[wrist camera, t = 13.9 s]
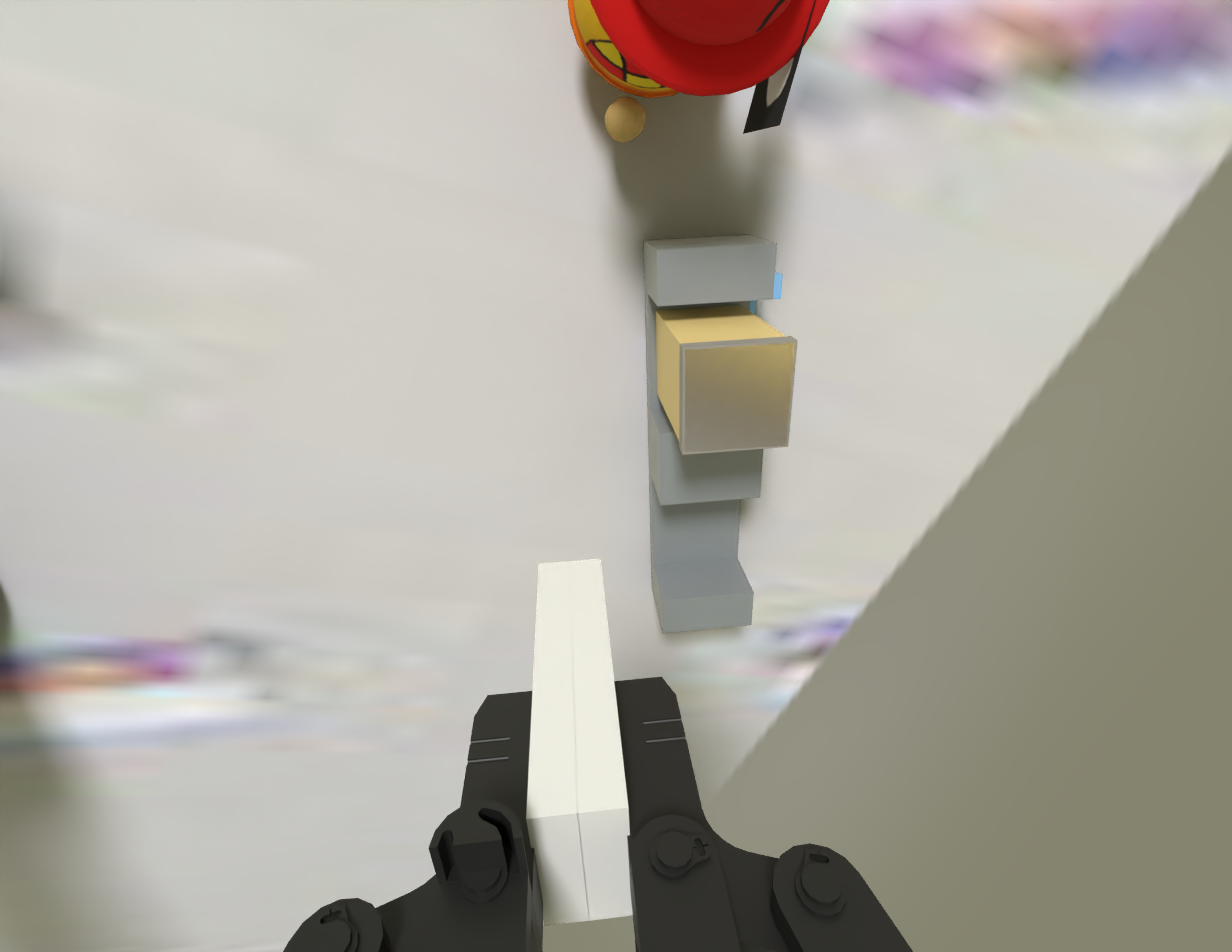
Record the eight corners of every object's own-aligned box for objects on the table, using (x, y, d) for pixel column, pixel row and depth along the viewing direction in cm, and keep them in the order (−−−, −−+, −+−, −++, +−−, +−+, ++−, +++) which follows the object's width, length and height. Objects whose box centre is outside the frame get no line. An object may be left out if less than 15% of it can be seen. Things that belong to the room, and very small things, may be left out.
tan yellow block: (655, 395, 37) (682, 454, 29) (654, 309, 35) (682, 347, 27) (739, 389, 38) (788, 446, 30) (743, 303, 35) (797, 340, 27)
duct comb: (651, 586, 45) (662, 633, 41) (643, 240, 35) (656, 250, 30) (736, 578, 46) (757, 624, 41) (754, 234, 35) (784, 242, 30)
